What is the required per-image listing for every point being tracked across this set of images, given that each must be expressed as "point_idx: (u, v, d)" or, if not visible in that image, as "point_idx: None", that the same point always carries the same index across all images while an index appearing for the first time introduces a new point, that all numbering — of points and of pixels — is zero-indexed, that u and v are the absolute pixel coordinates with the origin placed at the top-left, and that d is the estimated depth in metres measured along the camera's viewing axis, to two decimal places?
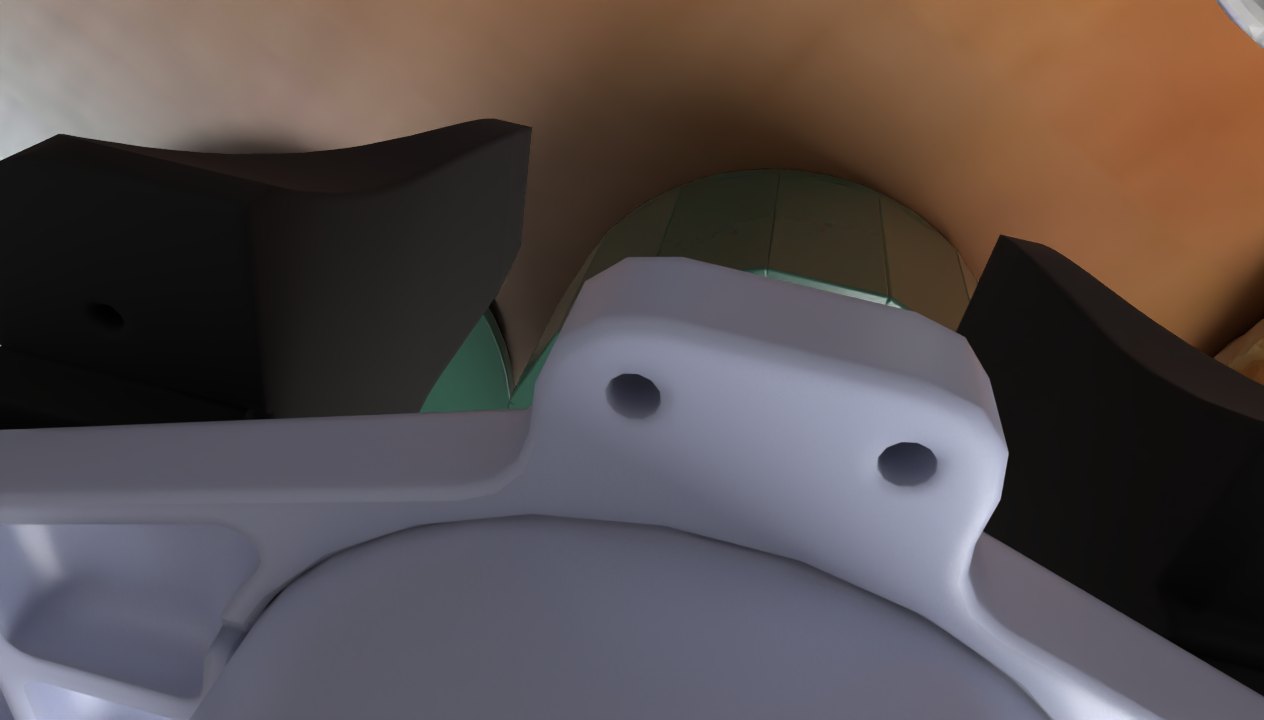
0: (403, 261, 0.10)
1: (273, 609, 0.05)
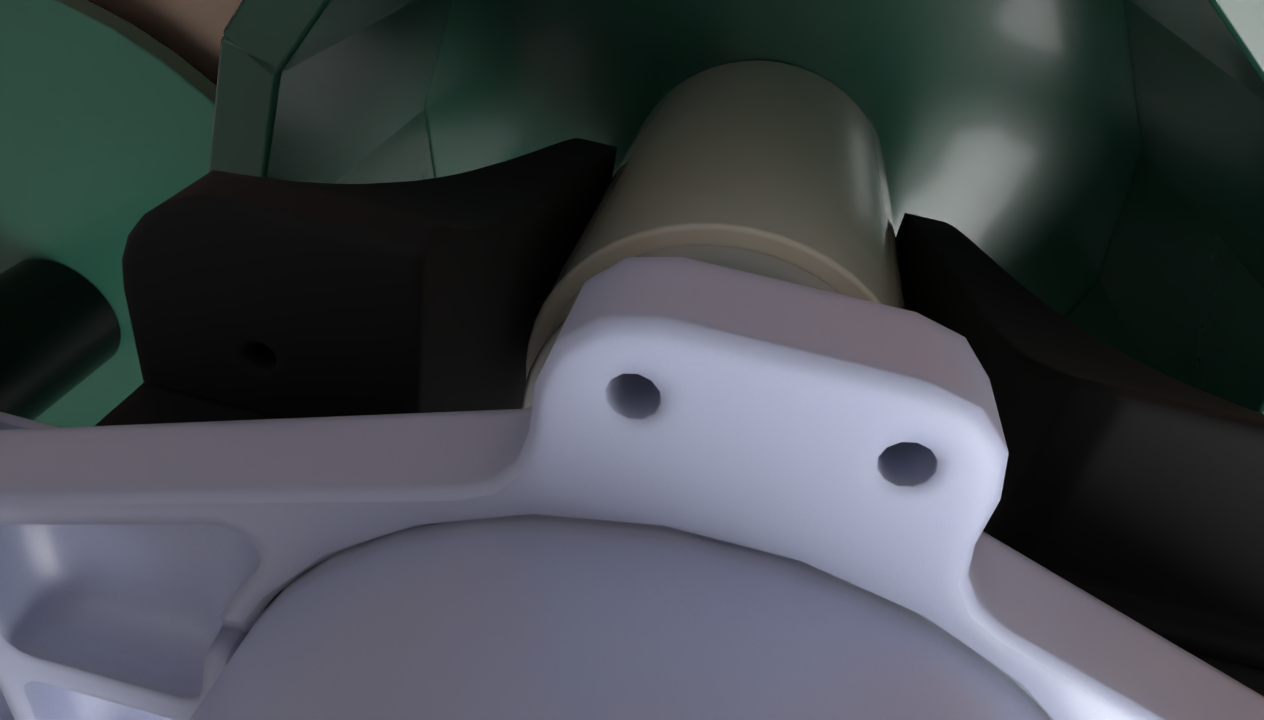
0: (518, 289, 0.09)
1: (274, 609, 0.05)
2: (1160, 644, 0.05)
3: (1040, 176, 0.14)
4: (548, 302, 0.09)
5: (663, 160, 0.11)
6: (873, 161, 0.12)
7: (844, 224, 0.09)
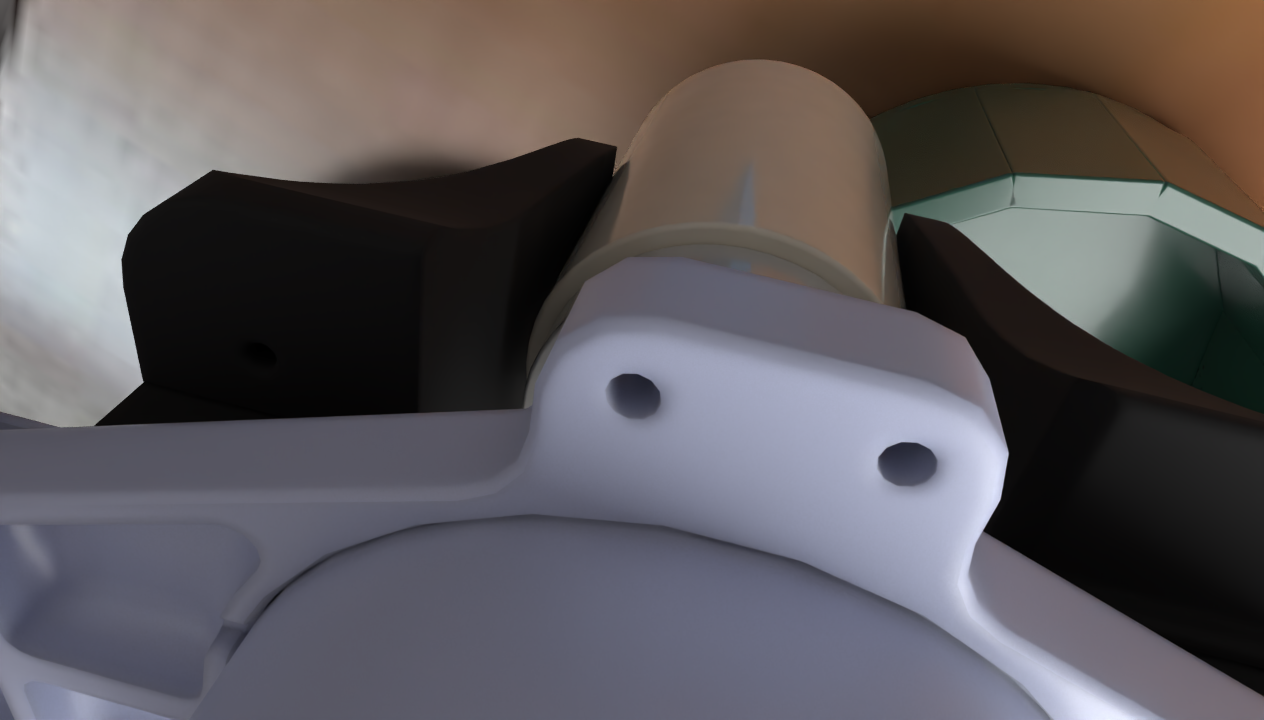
0: (518, 289, 0.09)
1: (273, 609, 0.05)
2: (1160, 644, 0.05)
3: (1158, 324, 0.23)
4: (549, 301, 0.09)
5: (664, 159, 0.11)
6: (874, 160, 0.12)
7: (844, 224, 0.09)
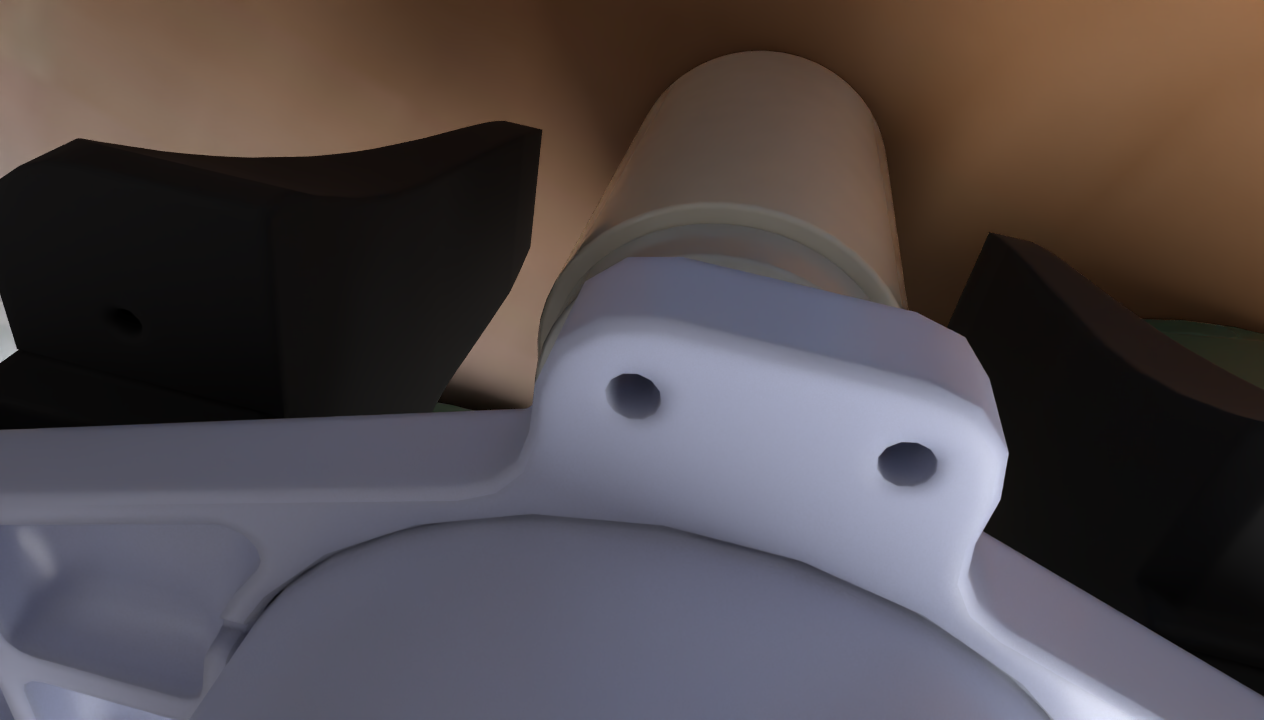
0: (417, 264, 0.10)
1: (273, 609, 0.05)
2: (1159, 644, 0.05)
3: None
4: (561, 280, 0.10)
5: (670, 145, 0.11)
6: (874, 148, 0.13)
7: (845, 206, 0.10)
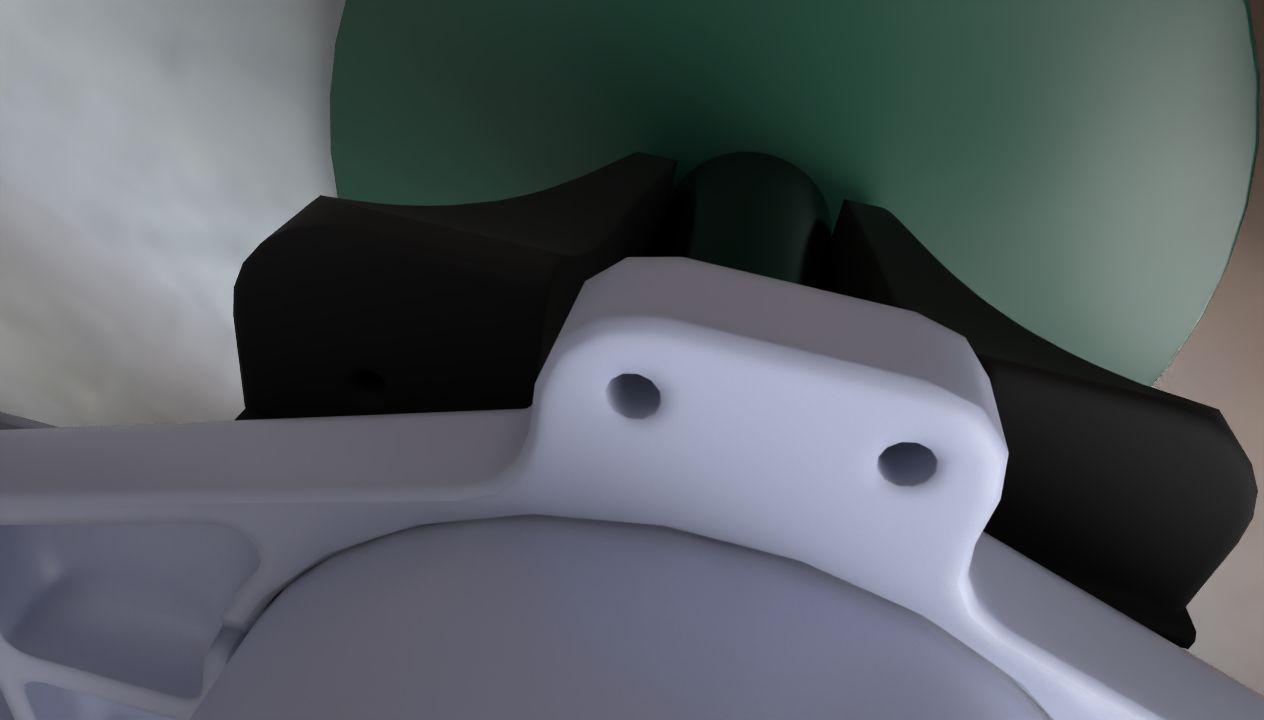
0: None
1: (274, 609, 0.05)
2: (1160, 644, 0.05)
3: None
4: None
5: None
6: None
7: None
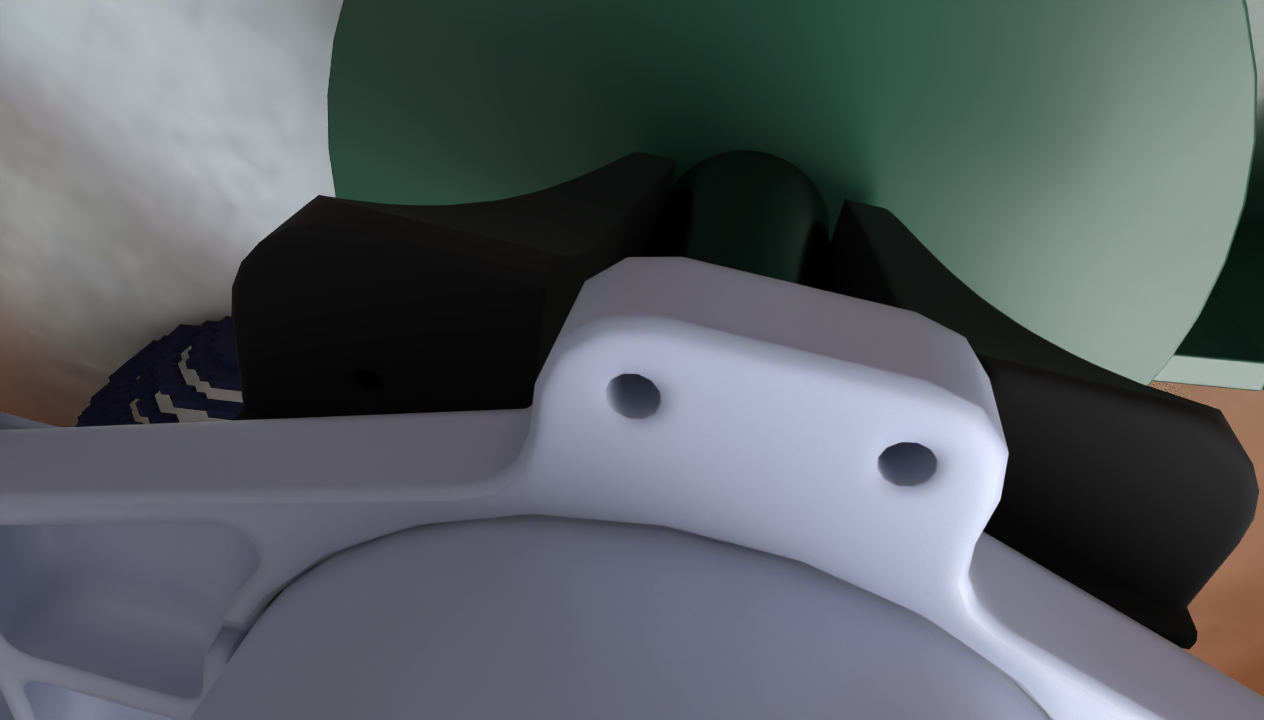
0: None
1: (273, 609, 0.05)
2: (1160, 644, 0.05)
3: None
4: None
5: None
6: None
7: None
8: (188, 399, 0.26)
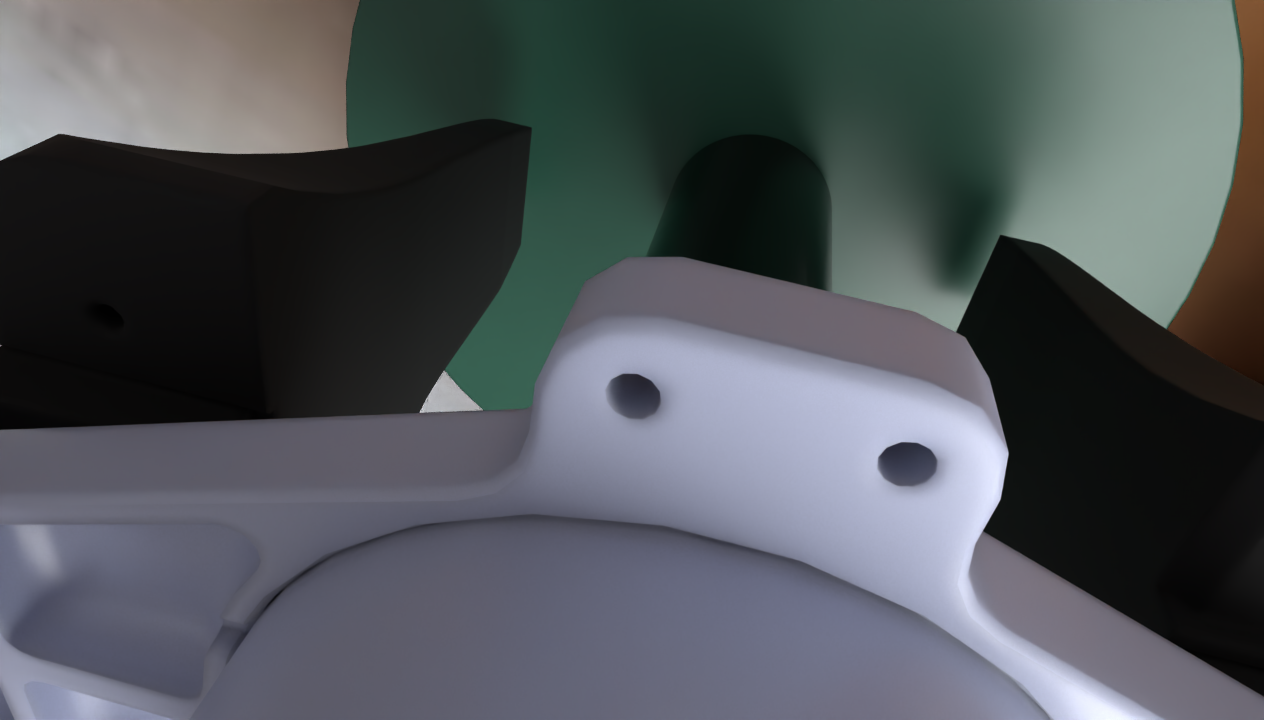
0: (403, 261, 0.10)
1: (274, 609, 0.05)
2: (1160, 644, 0.05)
3: None
4: None
5: None
6: None
7: None
8: None
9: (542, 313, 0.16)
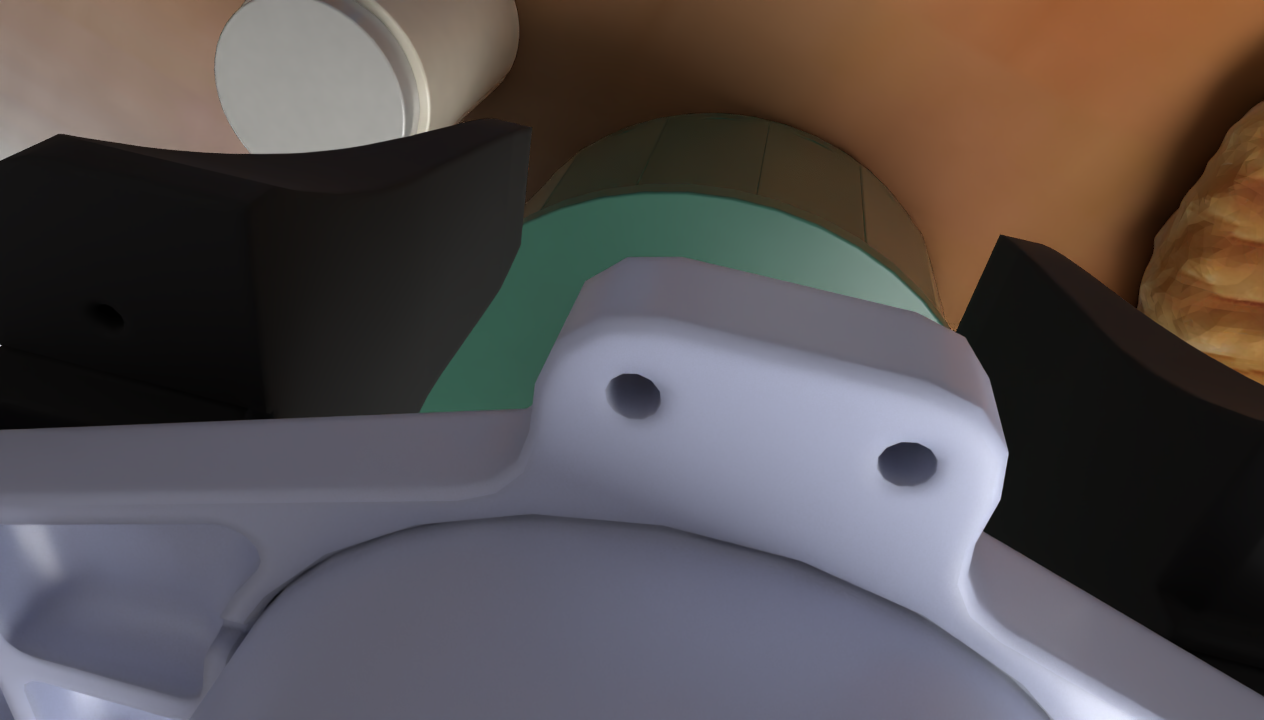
0: (403, 261, 0.10)
1: (273, 609, 0.05)
2: (1160, 644, 0.05)
3: None
4: None
5: None
6: None
7: None
8: None
9: None
